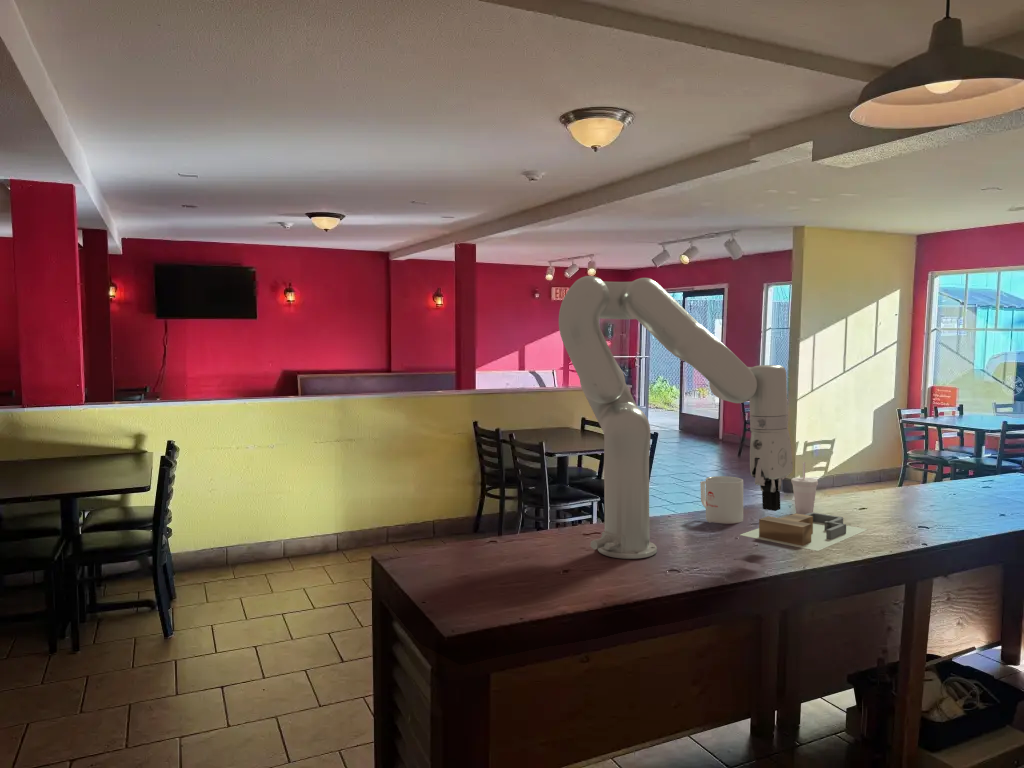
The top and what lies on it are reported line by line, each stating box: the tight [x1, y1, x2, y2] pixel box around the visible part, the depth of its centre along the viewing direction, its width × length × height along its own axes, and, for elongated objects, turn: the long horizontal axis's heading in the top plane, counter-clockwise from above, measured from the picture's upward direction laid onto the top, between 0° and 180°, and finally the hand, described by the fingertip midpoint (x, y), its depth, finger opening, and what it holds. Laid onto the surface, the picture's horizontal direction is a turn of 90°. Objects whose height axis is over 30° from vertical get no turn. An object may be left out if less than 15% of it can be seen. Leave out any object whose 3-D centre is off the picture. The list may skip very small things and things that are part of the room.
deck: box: [739, 511, 869, 552], centre depth 162 cm, size 25×18×3 cm
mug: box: [699, 475, 744, 525], centre depth 176 cm, size 12×9×11 cm
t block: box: [758, 512, 813, 546], centre depth 158 cm, size 11×10×4 cm
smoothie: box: [790, 461, 819, 515], centre depth 180 cm, size 6×6×14 cm
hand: (771, 509), depth 150 cm, fingers closed
